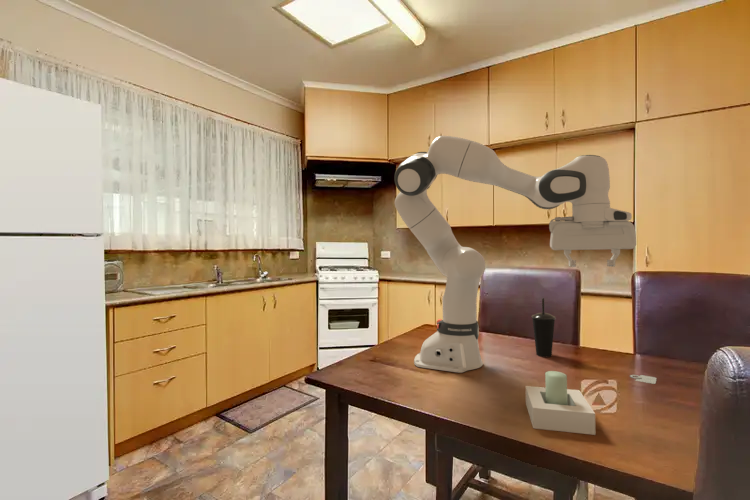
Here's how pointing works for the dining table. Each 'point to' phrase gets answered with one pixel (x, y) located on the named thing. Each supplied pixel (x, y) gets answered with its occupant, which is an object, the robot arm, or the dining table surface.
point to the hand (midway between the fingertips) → (591, 266)
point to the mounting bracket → (644, 379)
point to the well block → (560, 412)
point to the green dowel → (556, 388)
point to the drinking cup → (543, 332)
